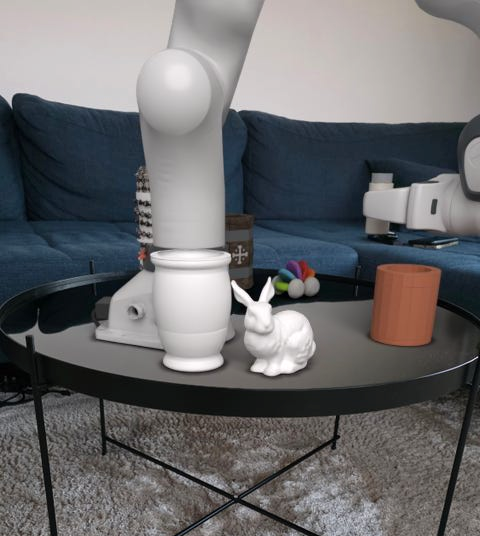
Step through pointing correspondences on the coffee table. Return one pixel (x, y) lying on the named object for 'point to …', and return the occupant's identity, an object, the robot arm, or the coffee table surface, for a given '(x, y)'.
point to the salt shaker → (377, 183)
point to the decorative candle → (143, 211)
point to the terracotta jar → (404, 304)
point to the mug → (240, 248)
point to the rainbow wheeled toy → (296, 280)
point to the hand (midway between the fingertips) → (375, 200)
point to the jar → (191, 306)
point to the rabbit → (275, 334)
